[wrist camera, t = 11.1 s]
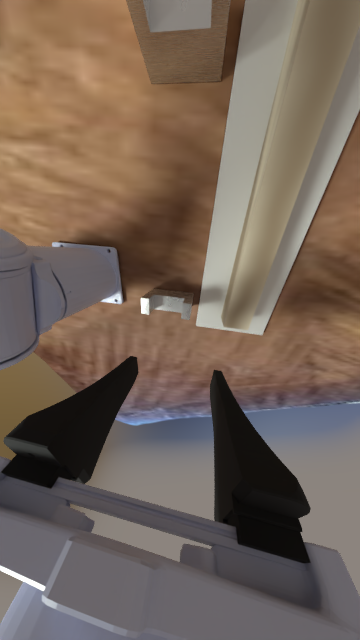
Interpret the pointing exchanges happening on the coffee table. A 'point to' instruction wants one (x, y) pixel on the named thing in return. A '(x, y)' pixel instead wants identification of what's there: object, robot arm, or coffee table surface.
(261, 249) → the ash rail
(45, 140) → the coffee table surface
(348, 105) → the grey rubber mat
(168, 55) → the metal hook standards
